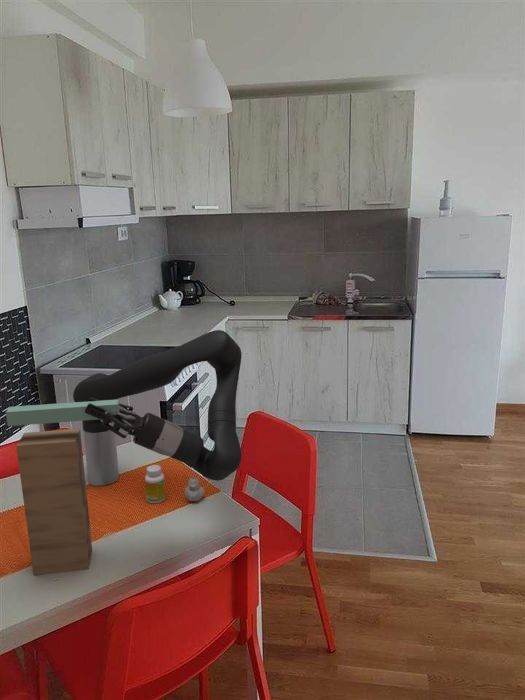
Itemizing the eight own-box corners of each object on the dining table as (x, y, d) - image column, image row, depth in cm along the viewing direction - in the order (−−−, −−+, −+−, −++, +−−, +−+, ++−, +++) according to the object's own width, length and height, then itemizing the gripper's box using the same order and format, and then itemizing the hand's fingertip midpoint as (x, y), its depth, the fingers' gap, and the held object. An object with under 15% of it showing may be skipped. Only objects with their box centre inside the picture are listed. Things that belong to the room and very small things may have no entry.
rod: (11, 420, 116) (9, 406, 115) (119, 412, 120) (118, 399, 119) (7, 426, 113) (5, 412, 112) (118, 417, 117) (117, 404, 116)
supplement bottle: (161, 504, 149) (159, 473, 146) (143, 502, 150) (140, 471, 148) (168, 494, 154) (166, 464, 152) (150, 493, 155) (148, 462, 153)
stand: (40, 556, 127) (24, 432, 119) (92, 550, 129) (80, 428, 121) (33, 575, 120) (16, 445, 112) (88, 568, 122) (75, 441, 114)
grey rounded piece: (183, 504, 149) (182, 479, 147) (187, 492, 155) (185, 467, 153) (202, 504, 149) (201, 479, 147) (205, 492, 155) (204, 468, 153)
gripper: (166, 410, 127) (98, 380, 123) (166, 433, 114) (90, 400, 109) (152, 436, 128) (84, 407, 124) (150, 462, 115) (75, 431, 110)
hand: (88, 404), depth 116 cm, fingers closed on rod, 3 cm apart
